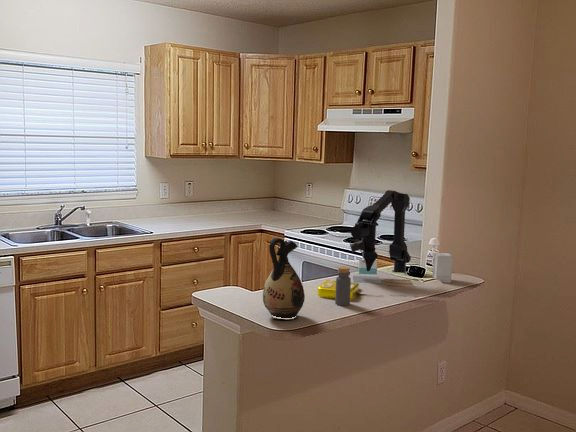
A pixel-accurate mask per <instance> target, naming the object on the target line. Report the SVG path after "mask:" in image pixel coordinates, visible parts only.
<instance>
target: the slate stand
mask: <svg viewBox="0 0 576 432" xmlns="http://www.w3.org/2000/svg"><path fill="white" fill-rule="evenodd" d="M352 282H353V283H358V284H359V283H362V284H363V283H364V284H382V281H381V278H380V277H379V276H372V275H371V276H369V275H352Z"/></svg>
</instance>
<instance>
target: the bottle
mask: <svg viewBox="0 0 576 432" xmlns="http://www.w3.org/2000/svg"><path fill="white" fill-rule="evenodd" d="M337 270H338V271H337V273H336V275H338V276H337V277H336V278H335V281H336V295H335V299H334V300H335V305H336V304H337V305H336V306H339V305H340V306H341V307H347V306H349V305H350V304H351V303H350V302H351V300H350V287H351V282H352V279H351V277H350V275H351V272H350V270H351V267H349V266H347V265H346V266H345V265H341V266H338V268H337Z"/></svg>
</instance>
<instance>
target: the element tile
mask: <svg viewBox="0 0 576 432" xmlns="http://www.w3.org/2000/svg"><path fill="white" fill-rule="evenodd" d="M359 287H360V285H359V283H356V282H355V283H354V282H353V281H351V287H350V301H353V300H354V299H355V298H356V297H357V296H358V294H359V293H358V291H359ZM335 295H336V280H332V279H326V280H325V281H324V282H322V283H321V284H320V285H318V287H317V297H318V296H320V297H319V298H323V297H326V298H325V299H331V298H334V299H333V300H335ZM355 296H356V297H355Z"/></svg>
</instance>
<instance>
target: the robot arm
mask: <svg viewBox="0 0 576 432" xmlns="http://www.w3.org/2000/svg"><path fill="white" fill-rule="evenodd" d="M408 194H409V193H404V192H403V193H401V192H398V191H396V190H391V189H388V190H386V191H384V193H383V195H382V196H381V197H380V198H378V199H377V200H376V201H375V202H374V203H373V204H371V205H368V206H365V207H364V208H363V209H362V211H361V213H360V214H359V217H358V219H357V221H356V223H354V226H353V227H352V228H351V230H350V234H351V237H352V238H354V239H355V240H357V239H361V240H358V241H355V242H352V243H350V244H349V247H350V249H351V252H352V253H355V252H356V251H360V254H361V255H362V258H363V260H366V268H367V271H370V269H371V267H372V265H373V263H374V261H375V260H376V259H378V253H377V252H376V241H377V239H376V237H377V236H376V235H377V226H378V227H379V223H378V220H380V218H381V216H382V212H383V211H384V210H385V209H386V208H387V207H388V206H389V205H390V204H391V207H392V210H393V211H394V220H393V221H394V222H393V224H394V226H393V241H392V242H391V244H389V247H388V249H389V250H388V253H389V254H388V255H389V258H390V259H389V260H390V261H393V262H394V263H393V269H392V270H391V271H392V273H400V274H401V273H402V274H404V273H405V274H407V271H406V270H407V269H406V267H407V263H411V259H412V258H411V255H410V254H409V252H408V246H407V244H406V241H405V226H406V225H405V223H406V221H405V220H406V211H407V209H408V208H409V206H410V199H411V198H410V195H408Z"/></svg>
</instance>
